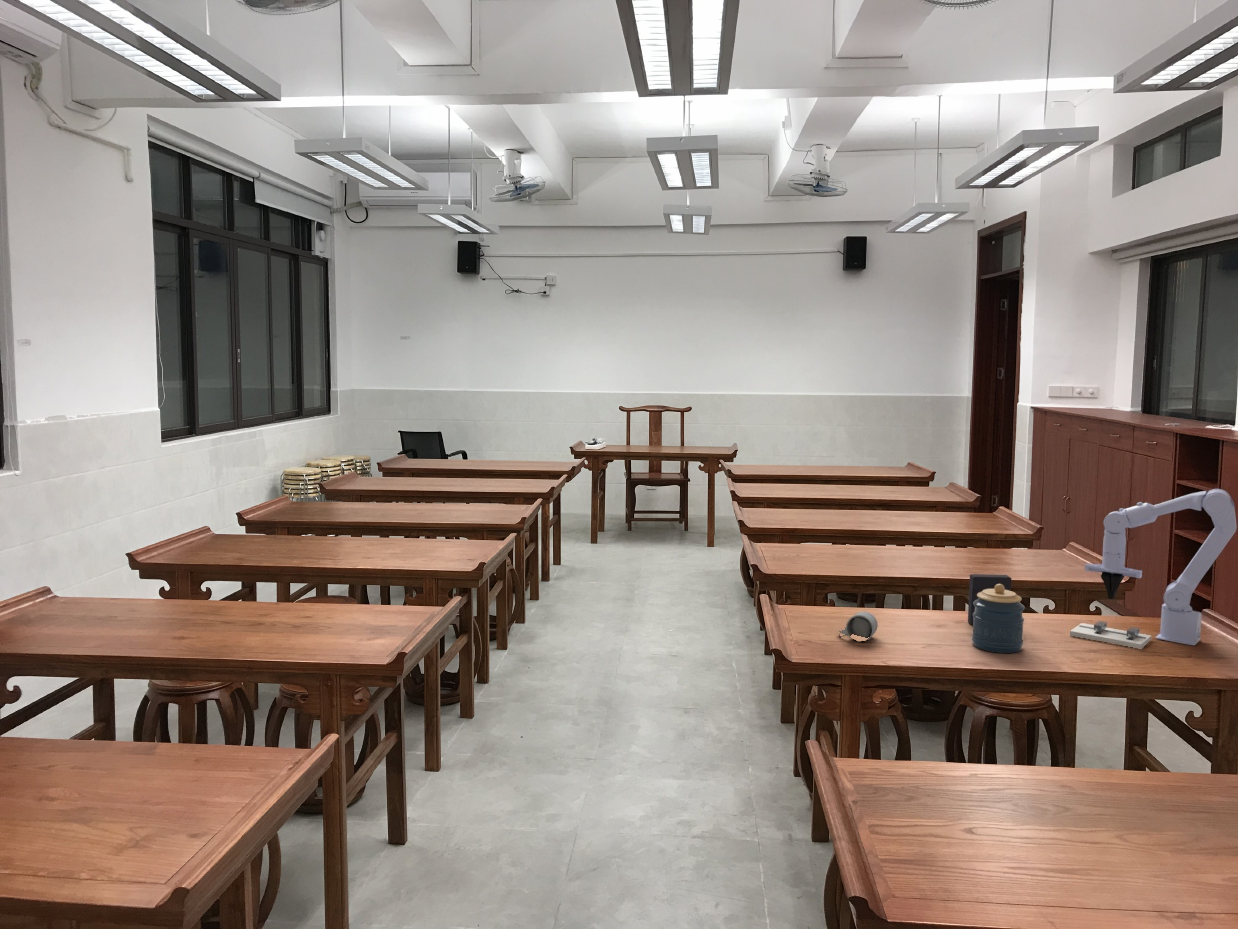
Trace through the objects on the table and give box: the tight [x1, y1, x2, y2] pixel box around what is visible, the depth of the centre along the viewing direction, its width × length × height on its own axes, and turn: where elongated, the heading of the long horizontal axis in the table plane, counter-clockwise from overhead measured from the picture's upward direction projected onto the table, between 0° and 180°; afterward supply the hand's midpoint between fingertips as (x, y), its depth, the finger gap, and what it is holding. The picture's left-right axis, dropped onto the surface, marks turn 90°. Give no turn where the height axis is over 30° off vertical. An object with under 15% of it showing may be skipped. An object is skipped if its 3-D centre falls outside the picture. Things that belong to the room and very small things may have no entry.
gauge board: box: [1069, 622, 1152, 650], centre depth 249 cm, size 18×11×2 cm, turn 46°
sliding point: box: [1093, 620, 1108, 632], centre depth 250 cm, size 2×6×2 cm, turn 136°
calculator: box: [967, 573, 1012, 626], centre depth 262 cm, size 11×4×15 cm, turn 84°
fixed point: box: [1126, 626, 1140, 638], centre depth 245 cm, size 2×6×2 cm, turn 136°
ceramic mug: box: [838, 611, 879, 641], centre depth 249 cm, size 11×8×8 cm
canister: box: [971, 584, 1025, 654], centre depth 240 cm, size 13×13×18 cm
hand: (1111, 598), depth 256 cm, fingers closed
